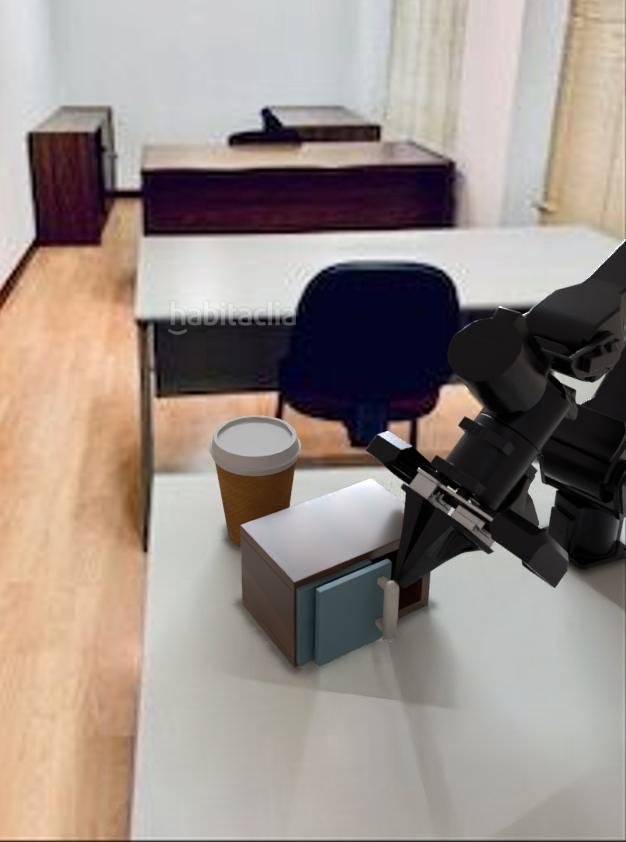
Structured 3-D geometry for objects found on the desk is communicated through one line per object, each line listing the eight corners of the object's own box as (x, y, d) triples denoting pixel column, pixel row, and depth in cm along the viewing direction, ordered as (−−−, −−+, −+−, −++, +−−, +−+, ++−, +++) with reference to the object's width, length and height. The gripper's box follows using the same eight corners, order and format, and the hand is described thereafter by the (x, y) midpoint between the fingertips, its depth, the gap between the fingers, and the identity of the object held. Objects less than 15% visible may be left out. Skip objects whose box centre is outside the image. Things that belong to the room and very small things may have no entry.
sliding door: (383, 630, 67) (387, 558, 65) (403, 650, 65) (408, 576, 62) (314, 663, 64) (315, 588, 61) (333, 685, 62) (335, 608, 59)
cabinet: (368, 552, 79) (371, 477, 75) (432, 609, 71) (439, 528, 68) (242, 604, 72) (239, 524, 69) (297, 673, 64) (298, 587, 61)
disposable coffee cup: (295, 565, 77) (295, 462, 73) (203, 555, 79) (198, 454, 75) (305, 511, 86) (306, 416, 81) (223, 503, 88) (219, 410, 83)
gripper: (641, 528, 61) (528, 688, 60) (469, 431, 76) (377, 557, 75) (590, 468, 55) (463, 646, 54) (415, 376, 70) (313, 512, 69)
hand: (398, 584), depth 63 cm, fingers closed, pressing on sliding door
